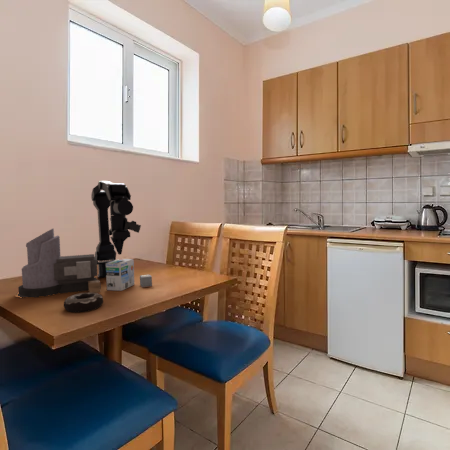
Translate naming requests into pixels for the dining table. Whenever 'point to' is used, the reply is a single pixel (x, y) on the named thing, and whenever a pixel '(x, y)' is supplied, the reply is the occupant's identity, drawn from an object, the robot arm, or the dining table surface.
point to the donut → (83, 302)
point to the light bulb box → (120, 274)
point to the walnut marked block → (94, 286)
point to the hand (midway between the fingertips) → (119, 254)
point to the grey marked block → (145, 280)
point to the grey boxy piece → (54, 269)
